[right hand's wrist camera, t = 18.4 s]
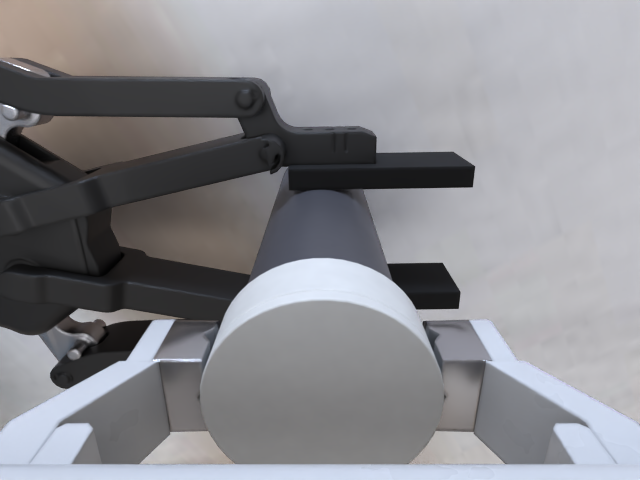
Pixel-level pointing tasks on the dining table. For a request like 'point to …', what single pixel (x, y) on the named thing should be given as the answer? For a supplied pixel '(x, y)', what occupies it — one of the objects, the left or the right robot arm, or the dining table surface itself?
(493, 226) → the dining table surface
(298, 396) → the lid
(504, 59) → the dining table surface
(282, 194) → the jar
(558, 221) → the dining table surface
